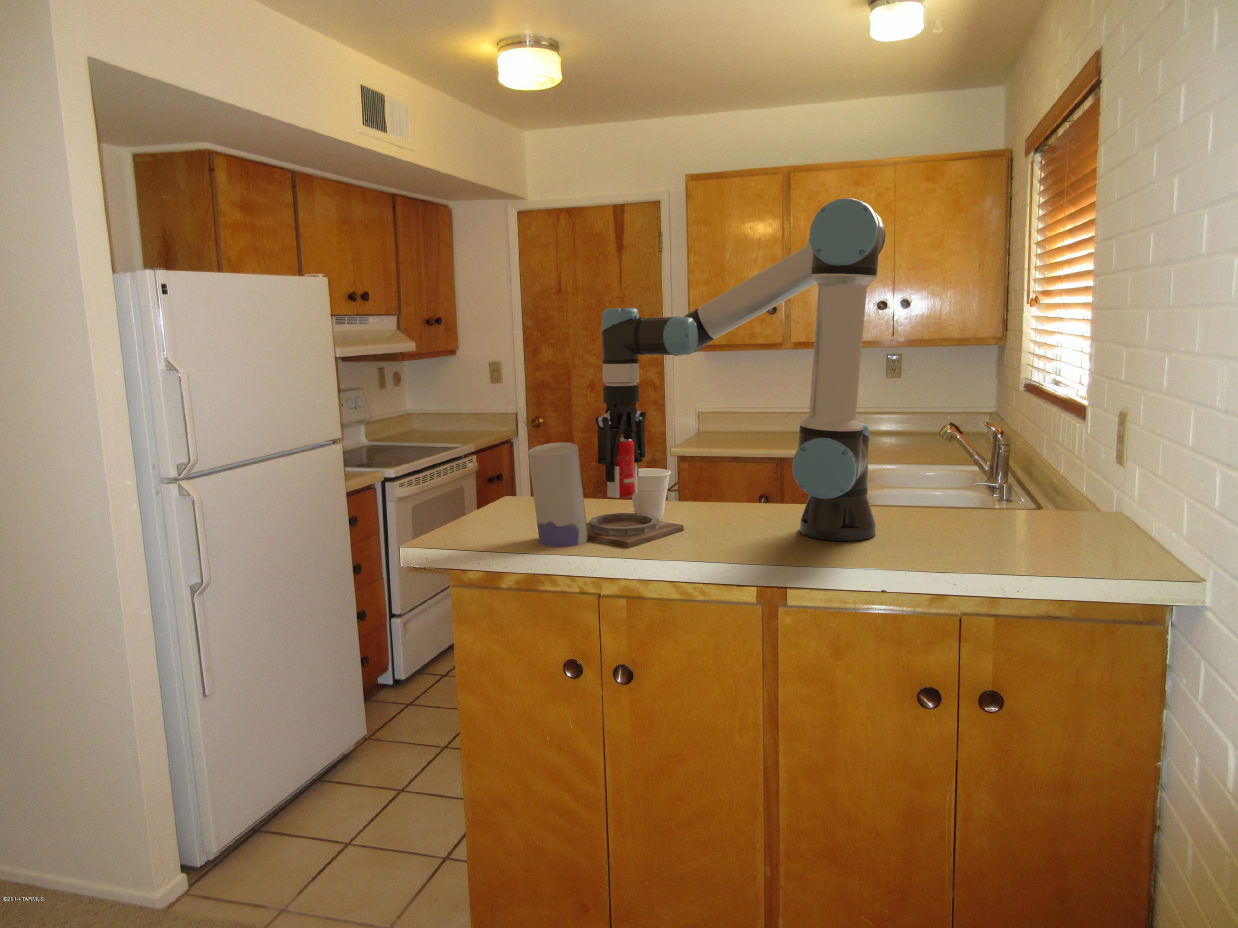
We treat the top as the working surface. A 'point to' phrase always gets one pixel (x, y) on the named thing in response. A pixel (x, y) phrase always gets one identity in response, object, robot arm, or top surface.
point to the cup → (651, 492)
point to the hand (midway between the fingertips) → (622, 494)
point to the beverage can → (626, 467)
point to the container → (558, 494)
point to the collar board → (634, 538)
